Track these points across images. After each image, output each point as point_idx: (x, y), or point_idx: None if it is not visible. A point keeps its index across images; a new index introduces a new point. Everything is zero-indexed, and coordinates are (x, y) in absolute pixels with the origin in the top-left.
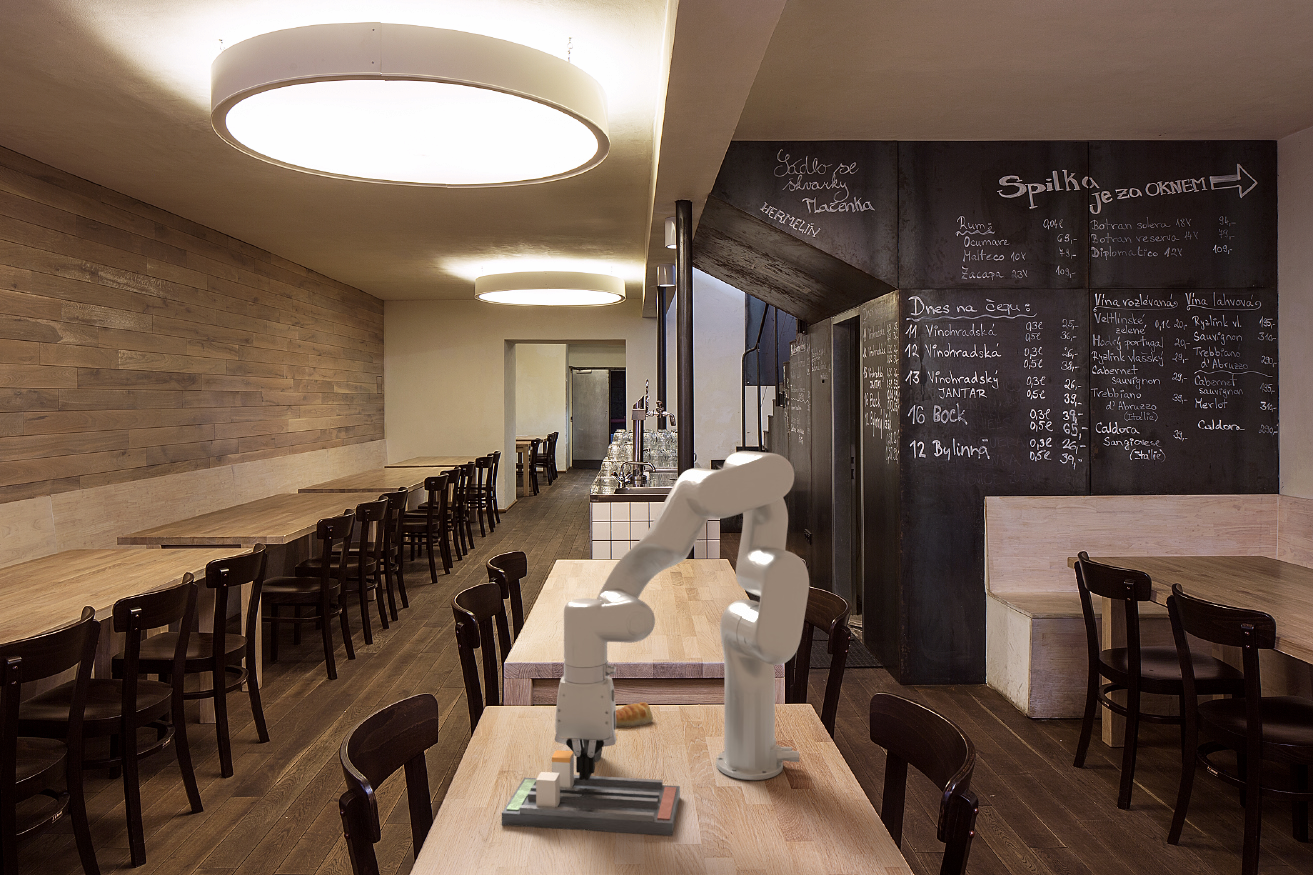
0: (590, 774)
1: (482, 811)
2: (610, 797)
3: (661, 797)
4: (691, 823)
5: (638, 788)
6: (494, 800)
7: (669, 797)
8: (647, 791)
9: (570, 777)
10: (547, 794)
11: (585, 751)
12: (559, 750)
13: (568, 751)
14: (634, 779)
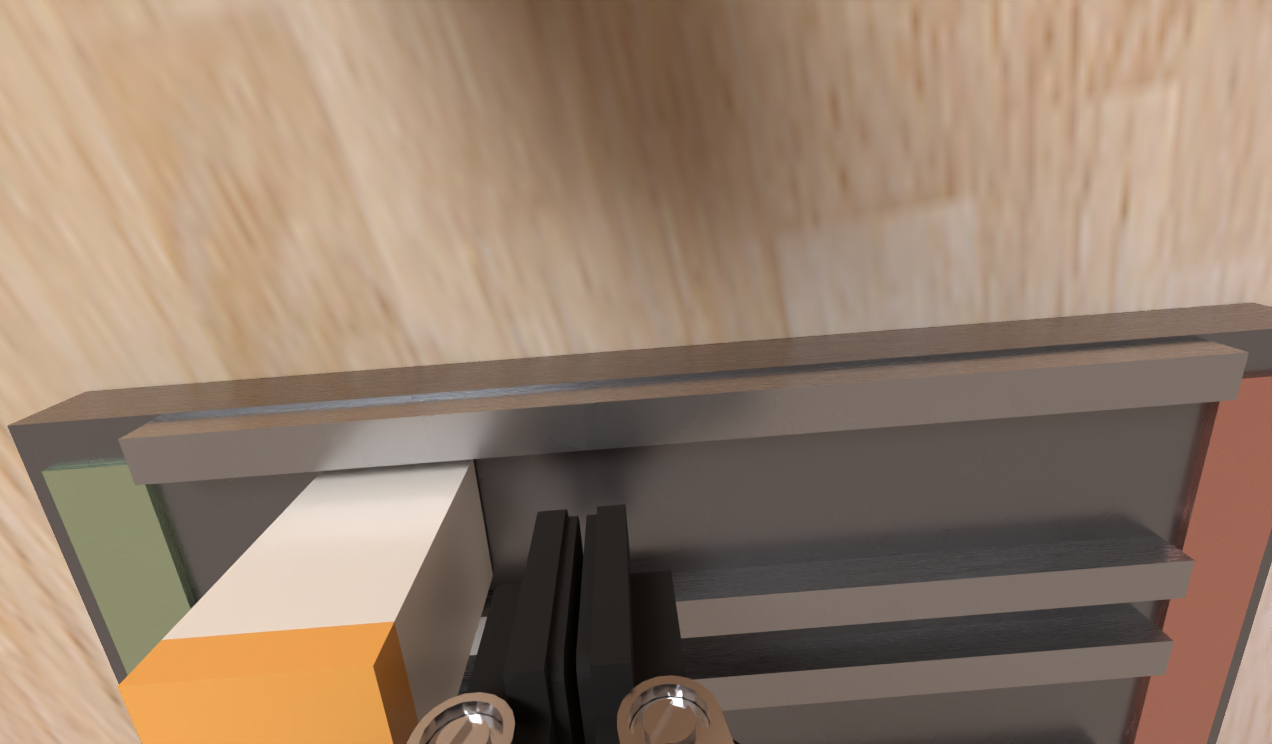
0: (630, 564)
1: (33, 698)
2: (832, 684)
3: (1172, 522)
4: (1269, 593)
5: (1001, 423)
6: (4, 578)
7: (1236, 530)
8: (1072, 459)
9: (468, 631)
10: None
11: (548, 689)
12: (170, 679)
13: (309, 688)
14: (994, 395)
